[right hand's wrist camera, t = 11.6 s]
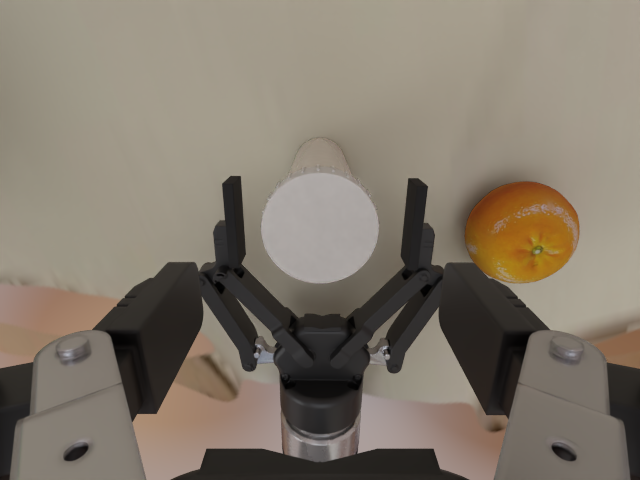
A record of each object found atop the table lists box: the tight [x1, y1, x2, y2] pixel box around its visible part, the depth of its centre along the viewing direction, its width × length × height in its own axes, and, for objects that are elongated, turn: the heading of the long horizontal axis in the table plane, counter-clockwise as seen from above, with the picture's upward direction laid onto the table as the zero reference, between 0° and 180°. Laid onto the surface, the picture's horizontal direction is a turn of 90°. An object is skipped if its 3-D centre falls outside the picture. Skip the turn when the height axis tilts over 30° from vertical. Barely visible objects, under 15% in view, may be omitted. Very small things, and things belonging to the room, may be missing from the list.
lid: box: [261, 165, 379, 284], centre depth 17 cm, size 5×5×2 cm
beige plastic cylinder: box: [287, 138, 353, 177], centre depth 25 cm, size 4×4×17 cm
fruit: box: [465, 182, 579, 283], centre depth 31 cm, size 8×8×8 cm
